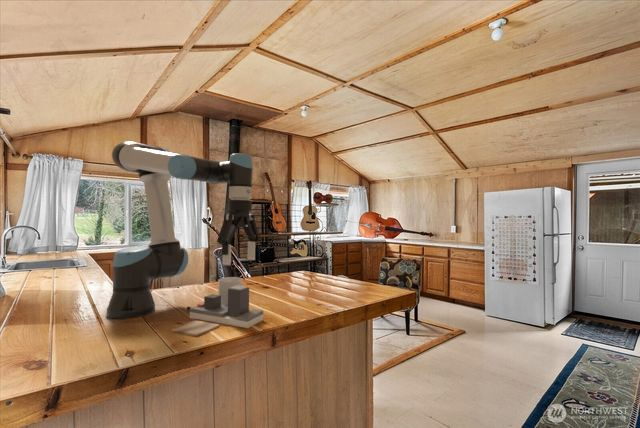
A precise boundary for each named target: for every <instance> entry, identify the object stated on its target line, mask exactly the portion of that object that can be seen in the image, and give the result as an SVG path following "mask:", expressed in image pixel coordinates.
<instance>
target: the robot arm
mask: <svg viewBox="0 0 640 428" xmlns="http://www.w3.org/2000/svg"><path fill="white" fill-rule="evenodd" d="M111 158H112V162H113V163H114V164H115V165H116V166H117V168H119V169H121V170H124V171H126V172H132V173H137V174H138V179H139V180H140V182H142V183H143V184H144V192H145V200H146V207H147V216H148V222H149V223H148V224H149V231H150V239H151V241H150V243H149V244H148V245H138V246H130V247H125V248H121V249H119V250H117V251H116V252H115V253H114V255H113V261H112V270H113V271H112V295H111V296H110V299H109V302H108V305H107V308H106V317H108V318H110V319H116V320H118V319H120V320H121V319H123V320H124V319H133V318H139V317H144V316H146V315H149V314H152V313H154V312H155V311H156V303H155V301H154V297H153V295H152V292H151V281H153V280H160V279H164V278H165V279H166V278H173V277H175V276H179V275H181V274H183V273H184V271H185V270H186V269H187V267H188V264H189V254H188V250H186V248H185V247H184V246H182V245H181V242H180V240H178V239H177V238H176V236H175V229H174V222H173V220H174V219H173V213H172V207H171V199H170V192H169V185H168V183H169V182H168V181H169V180H170V179H171V177H173V178H175V179H180V180H186V181H187V180H188V181H189V180H190V181H196V182H197V181H198V182H205V183H207V184H211V185H213V184H214V185H218V184H228V185H229V186H228V188H229V189H228V198H229V199H230V200H229V201H228V210H229V211H230V212H231V213H224V215H223V222H222V226H221V228H220V231H219V234H218V236H217V240H216V242H217V243H218V244H219V245H221V254H222V265H223V266H232V244H230V243H231V241H232V239H233V237H234V235H235V234H236V232H237V230H238V229H239V228H242V229H243V230H244V233H245V235H246V236H247V239H248V241H247V257H246V258H247V260H248V261H255V260H256V242H259V240H260V234H259V231H258V227H257V223H256V219H255V218H256V215H255V214H253V213H249V212H252V210H253V209H252V208H253V203H252V200H251V199H253V197H252V195H253V170H254V167H253V157H252V156H251V155H250V154H247V153H240V152H238V153H237V152H236V153H232V154H230V156H229V159H228V160H229V161H228V160H227V161H217V160H211V159H206V158H200V157H196V156H190V155H187V154H181V153H180V154H179V153H173V152H171V151H170V150H169V149H167V148H164V147H163V148H162V147H160V146H154V145H149V144H145V143H141V142H140V143H139V142H135V141H123V142H120V143H118V144H117V145H115V146H114V148H113V150H112V153H111Z"/></svg>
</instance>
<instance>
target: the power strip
mask: <svg viewBox="0 0 640 428" xmlns="http://www.w3.org/2000/svg"><path fill="white" fill-rule="evenodd" d="M203 299H204V300H203V301H202V302H200V303H197V304H196V305H195V306H193V307H191V308H190V310H189V318H190V319H195V320H199V321H204V322H210V323H215V324H221V325H228V326H234V327H239V328H245V329H249V328H250V327H252V325H253V326H255V325H257V324H258V323H260V322H263V320H264V310H262V309H255V308H253V309H251V310H249V312H246V313H244V314H242V315H240V316H238V318H236V317H230V316H228V305H223V304H221V295H218V294H214V293H211V294H209V295H205V296H204V297H203Z"/></svg>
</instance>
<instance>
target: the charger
mask: <svg viewBox="0 0 640 428" xmlns="http://www.w3.org/2000/svg"><path fill="white" fill-rule="evenodd" d="M249 311H250V287H249V286H246V285H245V286H244V285H242V286H239V285H237V286H234V287H231V288H229V289H228V316H230V317H236V318H238V316H240V315H242V314H244V313H246V312H249Z"/></svg>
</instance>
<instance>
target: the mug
mask: <svg viewBox="0 0 640 428" xmlns="http://www.w3.org/2000/svg"><path fill="white" fill-rule="evenodd" d="M217 283H218V285H217V287H218V291H217V295H221V304H223V305H228V289H229V288H231V287H234V286H237V285H239V286H243V278H241V277H237V276H231V277H230V276H229V277H228V276H227V277H221V278H219V279H218V282H217Z"/></svg>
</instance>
